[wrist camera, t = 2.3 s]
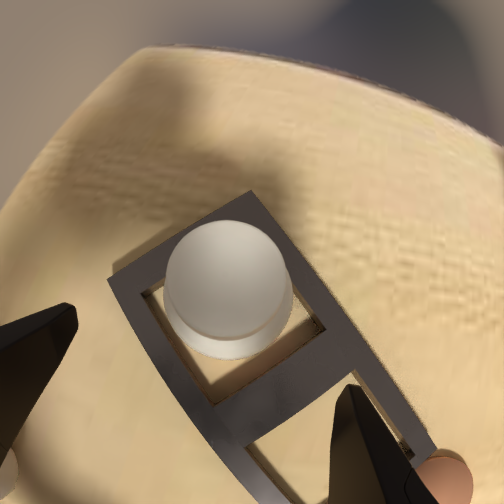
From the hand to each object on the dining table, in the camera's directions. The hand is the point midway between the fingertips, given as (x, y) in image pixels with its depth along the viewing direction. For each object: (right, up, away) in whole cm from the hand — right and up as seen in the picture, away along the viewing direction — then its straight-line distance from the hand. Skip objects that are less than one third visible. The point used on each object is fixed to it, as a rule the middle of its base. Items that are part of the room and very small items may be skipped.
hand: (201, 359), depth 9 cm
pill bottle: (0, -1, +11) cm, 11 cm away
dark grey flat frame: (+3, -5, +9) cm, 11 cm away
